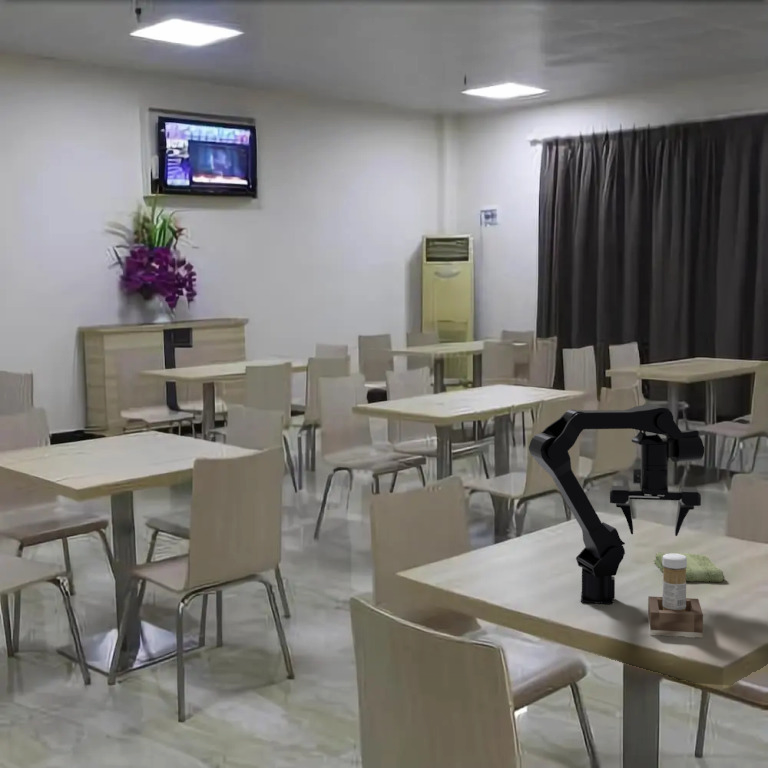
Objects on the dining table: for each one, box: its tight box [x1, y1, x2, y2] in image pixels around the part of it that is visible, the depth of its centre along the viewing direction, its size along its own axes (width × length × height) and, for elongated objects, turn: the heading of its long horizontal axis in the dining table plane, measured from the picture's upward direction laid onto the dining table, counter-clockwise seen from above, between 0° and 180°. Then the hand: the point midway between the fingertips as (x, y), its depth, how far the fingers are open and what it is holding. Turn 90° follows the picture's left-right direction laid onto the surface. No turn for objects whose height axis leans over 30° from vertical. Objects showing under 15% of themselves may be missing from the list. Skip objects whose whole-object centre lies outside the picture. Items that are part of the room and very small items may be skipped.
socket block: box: [647, 595, 704, 639], centre depth 193 cm, size 10×10×4 cm
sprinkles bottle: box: [662, 553, 687, 611], centre depth 192 cm, size 5×5×13 cm
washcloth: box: [653, 552, 725, 583], centre depth 229 cm, size 13×18×3 cm
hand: (653, 534), depth 212 cm, fingers open, 9 cm apart
